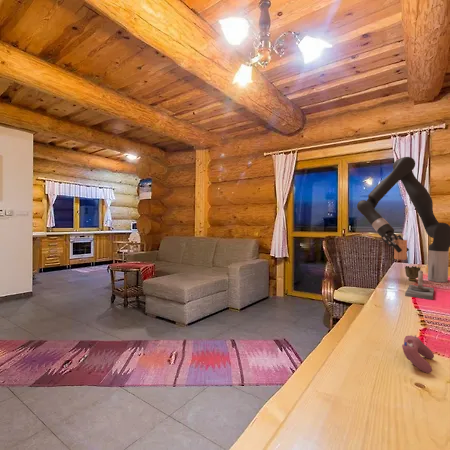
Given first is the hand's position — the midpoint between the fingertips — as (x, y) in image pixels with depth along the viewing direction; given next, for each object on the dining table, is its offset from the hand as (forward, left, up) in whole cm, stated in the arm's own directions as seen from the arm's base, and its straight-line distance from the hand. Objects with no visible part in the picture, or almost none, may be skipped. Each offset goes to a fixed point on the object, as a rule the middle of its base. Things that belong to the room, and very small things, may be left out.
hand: (403, 251), depth 149 cm
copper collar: (0, -2, -4) cm, 5 cm away
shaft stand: (+9, +13, -18) cm, 24 cm away
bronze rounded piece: (-17, -5, -18) cm, 25 cm away
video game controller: (+80, +50, -18) cm, 96 cm away
